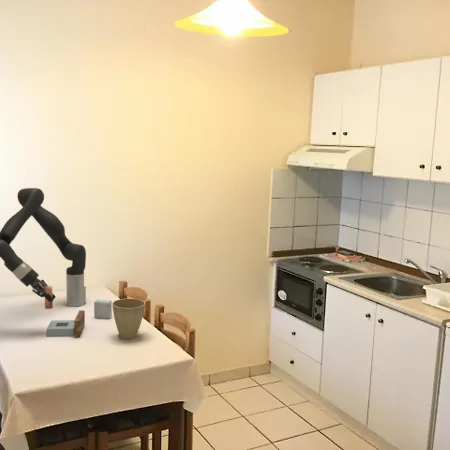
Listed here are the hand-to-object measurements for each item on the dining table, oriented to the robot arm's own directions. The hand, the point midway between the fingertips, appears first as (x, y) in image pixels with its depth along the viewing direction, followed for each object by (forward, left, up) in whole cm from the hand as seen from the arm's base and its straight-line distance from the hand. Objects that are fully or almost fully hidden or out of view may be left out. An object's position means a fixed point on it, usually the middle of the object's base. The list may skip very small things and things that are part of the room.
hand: (53, 299), depth 262 cm
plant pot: (-23, +27, -16) cm, 39 cm away
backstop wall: (-9, +8, -16) cm, 20 cm away
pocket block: (-3, +3, -16) cm, 16 cm away
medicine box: (-29, -3, -16) cm, 33 cm away
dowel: (+2, -1, -4) cm, 5 cm away
